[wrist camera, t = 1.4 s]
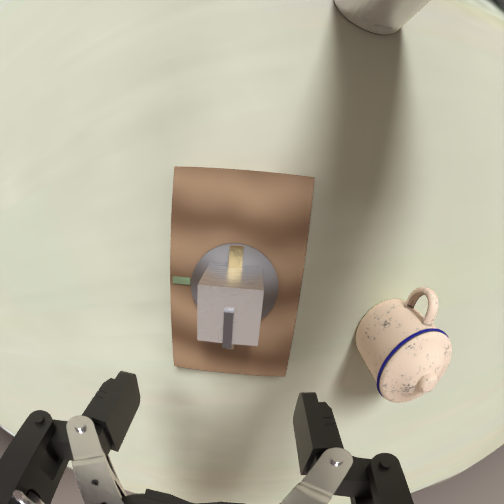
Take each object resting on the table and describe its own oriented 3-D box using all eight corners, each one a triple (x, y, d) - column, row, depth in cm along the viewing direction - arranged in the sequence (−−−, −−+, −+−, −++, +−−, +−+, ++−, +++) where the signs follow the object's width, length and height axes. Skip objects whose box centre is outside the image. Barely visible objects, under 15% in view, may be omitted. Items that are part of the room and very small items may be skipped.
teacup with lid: (398, 360, 32) (436, 415, 20) (342, 356, 31) (371, 422, 20) (433, 280, 29) (491, 319, 18) (376, 266, 29) (432, 310, 17)
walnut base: (179, 167, 26) (172, 166, 23) (310, 177, 26) (316, 177, 24) (177, 356, 31) (172, 369, 29) (283, 366, 32) (285, 380, 29)
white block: (210, 243, 25) (197, 262, 19) (263, 247, 25) (266, 268, 19) (207, 325, 27) (196, 360, 21) (255, 329, 27) (255, 366, 21)
